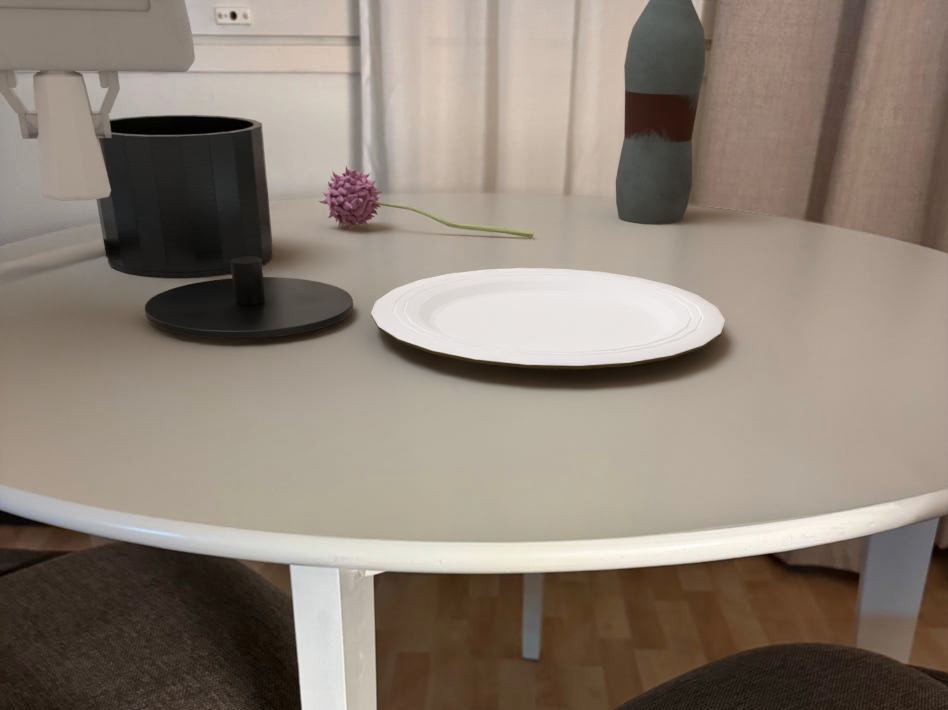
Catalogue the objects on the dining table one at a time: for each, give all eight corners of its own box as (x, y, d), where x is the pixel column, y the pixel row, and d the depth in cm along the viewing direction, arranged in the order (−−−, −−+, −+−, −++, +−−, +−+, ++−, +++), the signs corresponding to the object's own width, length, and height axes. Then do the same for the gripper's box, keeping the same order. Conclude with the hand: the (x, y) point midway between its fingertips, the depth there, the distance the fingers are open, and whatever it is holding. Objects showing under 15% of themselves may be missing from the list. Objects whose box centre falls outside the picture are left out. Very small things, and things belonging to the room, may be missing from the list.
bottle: (654, 228, 126) (683, -78, 110) (597, 216, 131) (617, -76, 115) (703, 218, 131) (738, -75, 115) (646, 207, 137) (671, -73, 121)
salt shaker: (94, 203, 81) (68, 38, 76) (27, 198, 82) (-3, 35, 76) (124, 191, 86) (103, 35, 80) (62, 187, 87) (35, 32, 81)
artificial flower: (533, 254, 125) (328, 211, 127) (543, 194, 121) (330, 151, 122) (524, 277, 120) (311, 232, 122) (534, 216, 116) (312, 170, 117)
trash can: (72, 264, 107) (47, 127, 100) (185, 234, 119) (169, 111, 113) (199, 285, 100) (181, 141, 94) (305, 252, 113) (295, 122, 106)
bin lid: (101, 325, 89) (91, 267, 86) (237, 281, 102) (231, 229, 100) (269, 359, 82) (263, 296, 79) (392, 306, 95) (390, 252, 93)
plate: (620, 277, 105) (621, 257, 104) (795, 365, 82) (799, 340, 81) (332, 302, 96) (331, 280, 95) (439, 408, 73) (439, 381, 72)
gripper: (-139, -88, 69) (-85, 144, 77) (183, -74, 75) (205, 142, 82) (-122, -84, 74) (-73, 133, 82) (178, -72, 80) (199, 131, 87)
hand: (68, 137), depth 82 cm, fingers closed on salt shaker, 4 cm apart
